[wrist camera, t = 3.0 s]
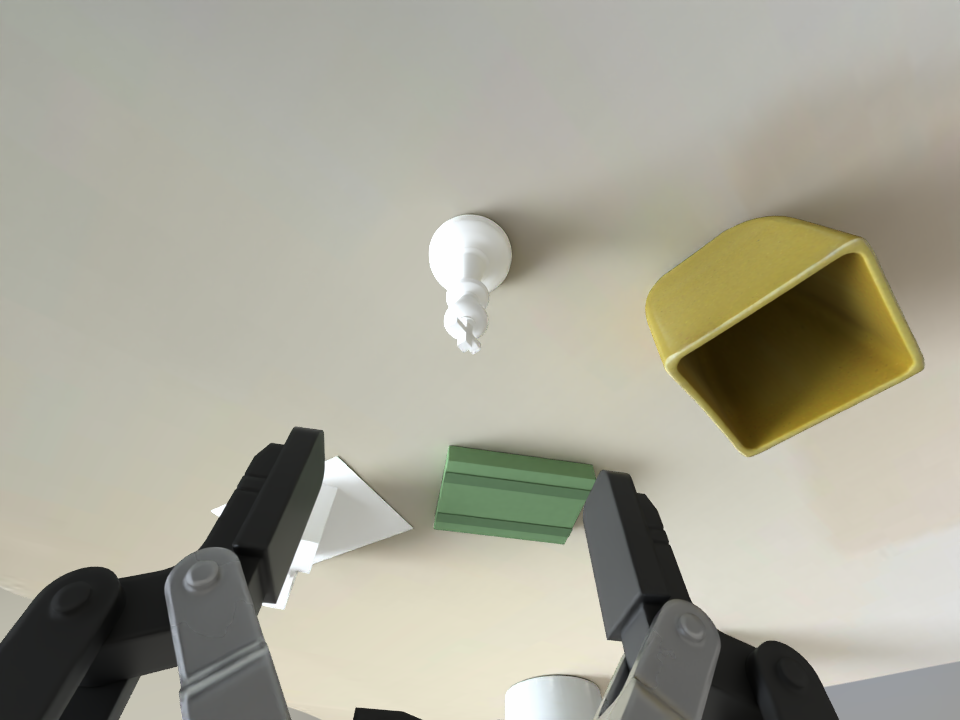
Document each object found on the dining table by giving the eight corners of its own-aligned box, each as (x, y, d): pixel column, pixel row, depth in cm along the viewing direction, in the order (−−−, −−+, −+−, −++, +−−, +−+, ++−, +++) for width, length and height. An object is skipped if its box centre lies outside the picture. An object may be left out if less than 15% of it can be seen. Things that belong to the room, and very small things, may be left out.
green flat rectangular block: (435, 513, 41) (433, 530, 39) (449, 445, 36) (447, 461, 34) (561, 529, 42) (564, 545, 40) (592, 464, 37) (596, 480, 35)
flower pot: (812, 285, 28) (932, 370, 20) (684, 365, 31) (747, 462, 24) (748, 177, 24) (866, 232, 17) (612, 280, 27) (659, 364, 20)
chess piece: (479, 196, 25) (476, 268, 16) (527, 264, 27) (547, 357, 19) (412, 247, 26) (379, 335, 18) (463, 307, 29) (454, 410, 20)
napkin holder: (296, 571, 46) (275, 629, 42) (209, 511, 41) (173, 571, 36) (415, 528, 42) (406, 588, 37) (335, 454, 36) (313, 514, 32)
